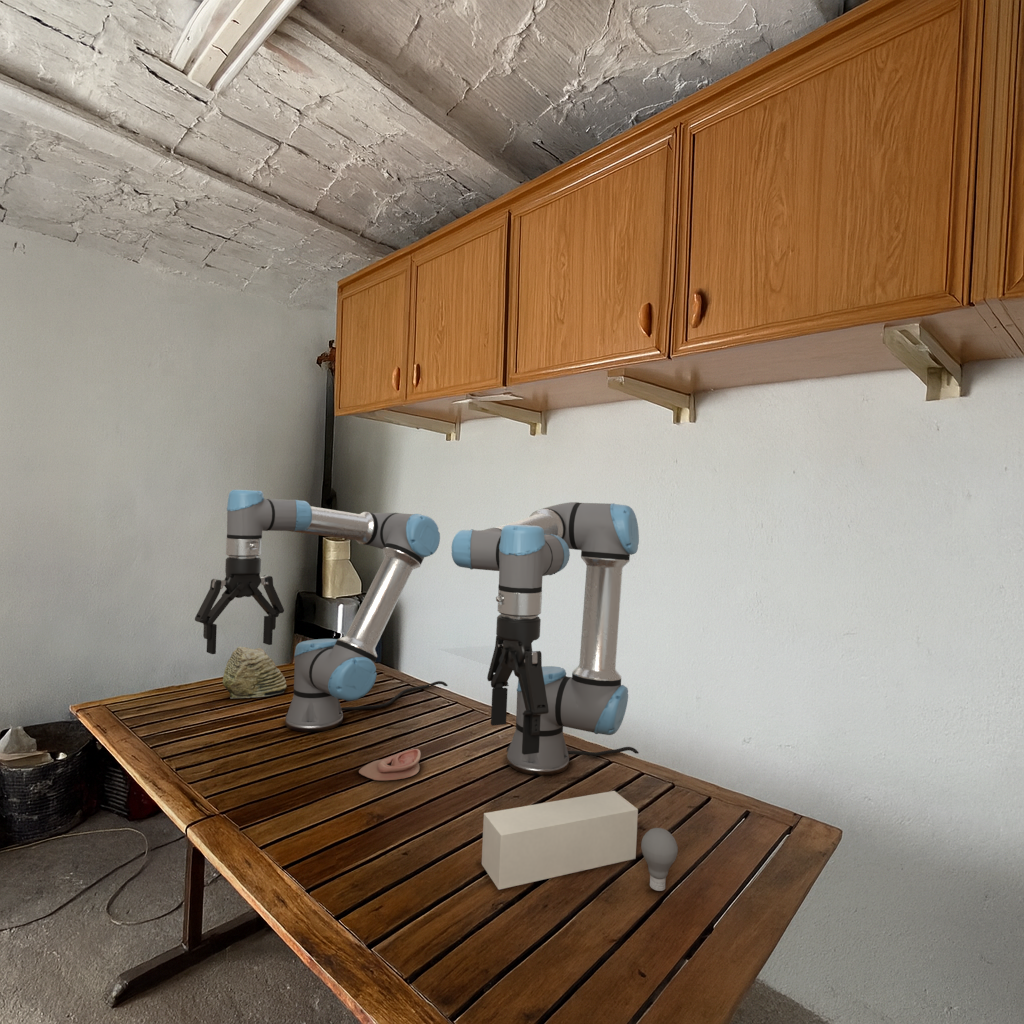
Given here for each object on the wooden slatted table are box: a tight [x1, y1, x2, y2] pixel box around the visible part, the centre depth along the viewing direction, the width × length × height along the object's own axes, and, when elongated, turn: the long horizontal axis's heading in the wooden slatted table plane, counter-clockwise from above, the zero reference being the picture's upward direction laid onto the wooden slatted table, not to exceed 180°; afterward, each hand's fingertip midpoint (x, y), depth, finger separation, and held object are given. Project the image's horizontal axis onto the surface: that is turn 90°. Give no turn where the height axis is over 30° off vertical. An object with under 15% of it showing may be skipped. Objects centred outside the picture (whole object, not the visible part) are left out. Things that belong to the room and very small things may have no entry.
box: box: [481, 790, 639, 891], centre depth 114 cm, size 27×8×9 cm, turn 114°
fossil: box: [222, 646, 288, 699], centre depth 198 cm, size 9×18×15 cm, turn 132°
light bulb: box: [640, 827, 679, 892], centre depth 106 cm, size 6×6×10 cm
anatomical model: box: [358, 748, 422, 782], centre depth 147 cm, size 13×4×12 cm
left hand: (240, 648), depth 146 cm, fingers open, 13 cm apart
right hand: (513, 738), depth 109 cm, fingers open, 13 cm apart
